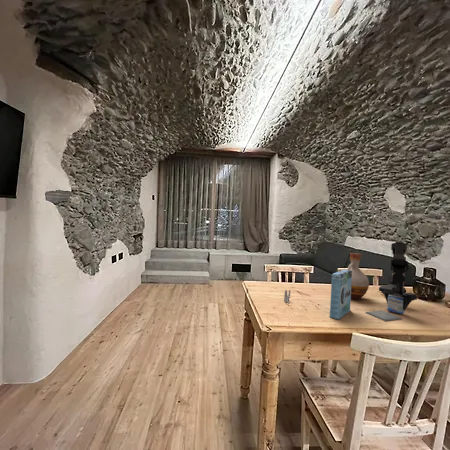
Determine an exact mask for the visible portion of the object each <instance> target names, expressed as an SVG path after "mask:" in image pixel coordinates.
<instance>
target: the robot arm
mask: <svg viewBox="0 0 450 450" xmlns="http://www.w3.org/2000/svg"><path fill="white" fill-rule="evenodd" d="M390 247H391V249H390V251H391V252H392V253H391V254H392V255H393V256H392V259H391V261H390V271H392V272H391V273H392V274H391V280H390V281H389V284H386V285H380V286H379V287H378V291H379V292H380V293H381V294H383V296H384V298H385V302H386V304H388V295H395V296H400V297H403V298H402V300H403V310H405V311H406V309H407V308H408V306H409V305H410V304H411V303H412V302H413V301H415V300H418V295H417V294H416V293H412V292H407V289H406V287H405V285H406V282H405V280H406V277H405V273H408V271H409V262H408V260H407V258H406V256H405V255H406V252H408V244H406V243H405V242H403V241H402V242H401V241H395V242H393V243H391V246H390Z"/></svg>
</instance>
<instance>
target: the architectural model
mask: <svg viewBox="0 0 450 450" xmlns="http://www.w3.org/2000/svg"><path fill="white" fill-rule="evenodd" d="M283 298H284V299H283V301H284V302H285V303H290V299H291V290H287V289H286V290H284V296H283Z"/></svg>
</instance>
